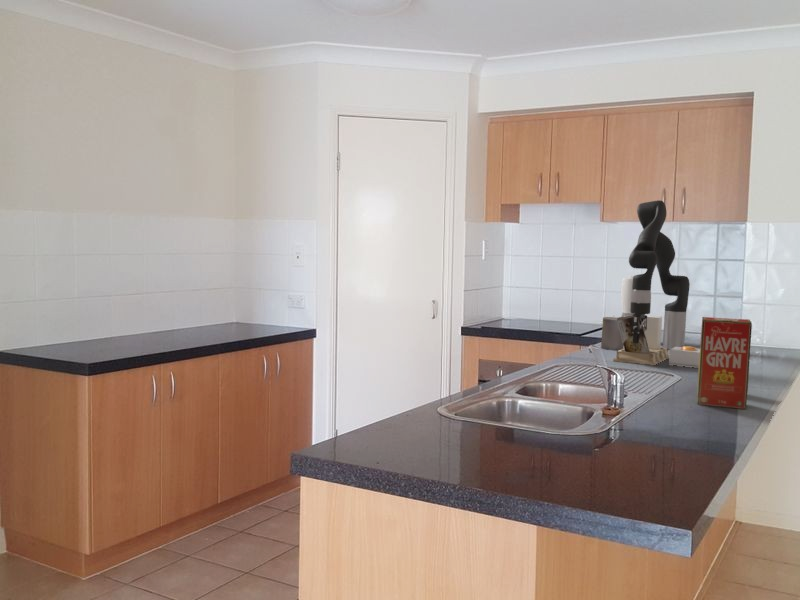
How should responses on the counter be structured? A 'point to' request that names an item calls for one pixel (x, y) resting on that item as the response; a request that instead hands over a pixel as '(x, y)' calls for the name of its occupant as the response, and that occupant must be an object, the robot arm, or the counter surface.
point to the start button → (689, 348)
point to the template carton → (653, 332)
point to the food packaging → (724, 362)
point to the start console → (684, 357)
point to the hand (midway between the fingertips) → (638, 342)
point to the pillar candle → (611, 334)
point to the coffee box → (627, 336)
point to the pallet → (642, 356)
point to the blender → (626, 295)
